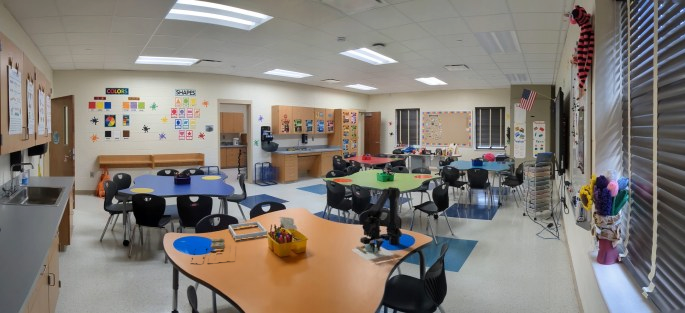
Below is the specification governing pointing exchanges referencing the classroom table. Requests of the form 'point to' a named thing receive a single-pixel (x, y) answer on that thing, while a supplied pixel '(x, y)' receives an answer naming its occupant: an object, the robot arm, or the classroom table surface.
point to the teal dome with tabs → (368, 248)
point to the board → (372, 255)
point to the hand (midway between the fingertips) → (375, 252)
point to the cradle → (362, 249)
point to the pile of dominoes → (217, 243)
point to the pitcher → (287, 223)
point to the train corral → (248, 233)
